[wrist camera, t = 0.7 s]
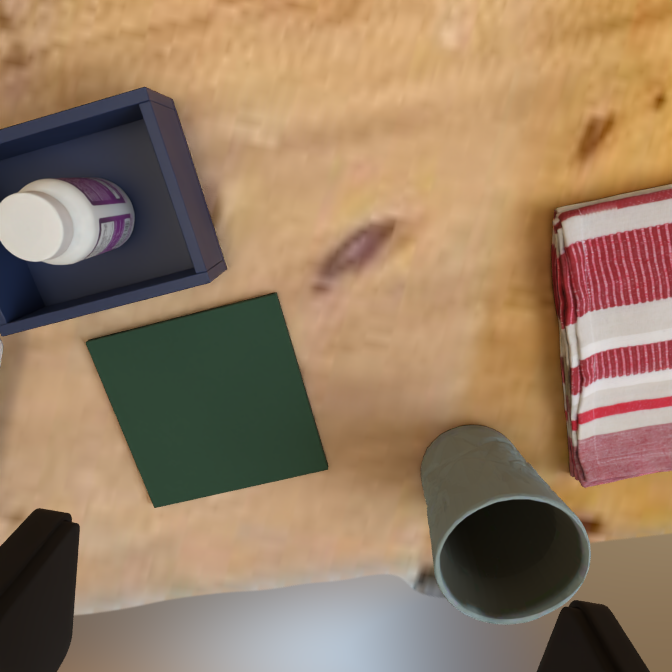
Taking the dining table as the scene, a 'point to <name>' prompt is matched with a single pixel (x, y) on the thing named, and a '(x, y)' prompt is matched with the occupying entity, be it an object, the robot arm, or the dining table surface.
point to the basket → (141, 188)
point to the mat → (211, 401)
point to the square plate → (1, 350)
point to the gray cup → (499, 529)
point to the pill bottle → (65, 220)
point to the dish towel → (616, 333)
